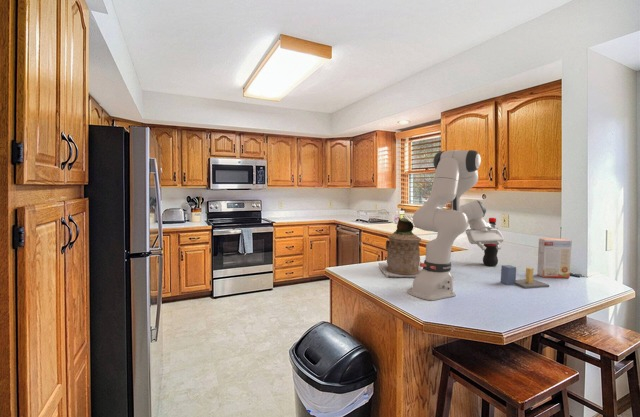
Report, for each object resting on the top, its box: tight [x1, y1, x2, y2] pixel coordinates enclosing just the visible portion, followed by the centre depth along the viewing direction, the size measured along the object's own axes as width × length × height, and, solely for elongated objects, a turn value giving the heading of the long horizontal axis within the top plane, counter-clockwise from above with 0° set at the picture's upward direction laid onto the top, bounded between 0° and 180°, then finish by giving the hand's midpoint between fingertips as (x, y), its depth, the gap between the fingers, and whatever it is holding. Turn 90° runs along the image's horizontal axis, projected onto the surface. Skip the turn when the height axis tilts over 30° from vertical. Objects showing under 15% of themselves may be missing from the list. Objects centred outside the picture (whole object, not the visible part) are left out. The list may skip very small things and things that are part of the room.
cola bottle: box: [482, 217, 499, 267], centre depth 197 cm, size 8×8×30 cm
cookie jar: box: [378, 216, 423, 279], centre depth 180 cm, size 25×25×32 cm
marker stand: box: [514, 267, 550, 289], centre depth 160 cm, size 14×10×8 cm
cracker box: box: [536, 238, 573, 279], centre depth 174 cm, size 14×6×21 cm, turn 84°
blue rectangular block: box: [500, 264, 517, 286], centre depth 161 cm, size 5×5×9 cm
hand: (491, 249), depth 172 cm, fingers open, 8 cm apart
